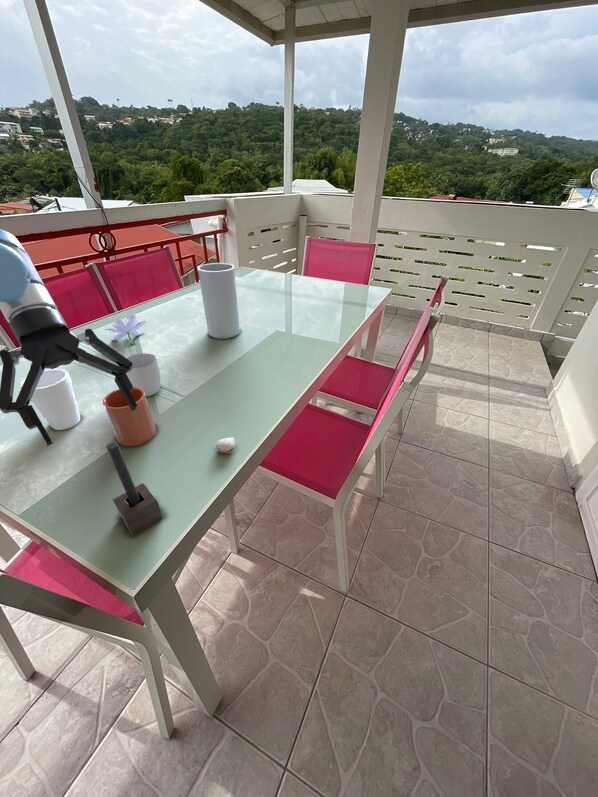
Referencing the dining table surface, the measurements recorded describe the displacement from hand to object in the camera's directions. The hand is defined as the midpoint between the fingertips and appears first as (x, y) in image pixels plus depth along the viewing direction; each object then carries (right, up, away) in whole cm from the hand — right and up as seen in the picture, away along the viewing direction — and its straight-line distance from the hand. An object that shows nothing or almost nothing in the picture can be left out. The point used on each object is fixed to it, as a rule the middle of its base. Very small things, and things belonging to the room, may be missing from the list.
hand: (95, 424), depth 57 cm
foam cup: (-24, -2, +27) cm, 36 cm away
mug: (-9, +8, +41) cm, 43 cm away
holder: (+6, -18, +5) cm, 19 cm away
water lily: (-28, +27, +68) cm, 79 cm away
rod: (+6, -18, +5) cm, 19 cm away
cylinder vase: (+5, +31, +75) cm, 81 cm away
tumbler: (-4, -4, +24) cm, 24 cm away
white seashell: (+18, -7, +20) cm, 28 cm away
